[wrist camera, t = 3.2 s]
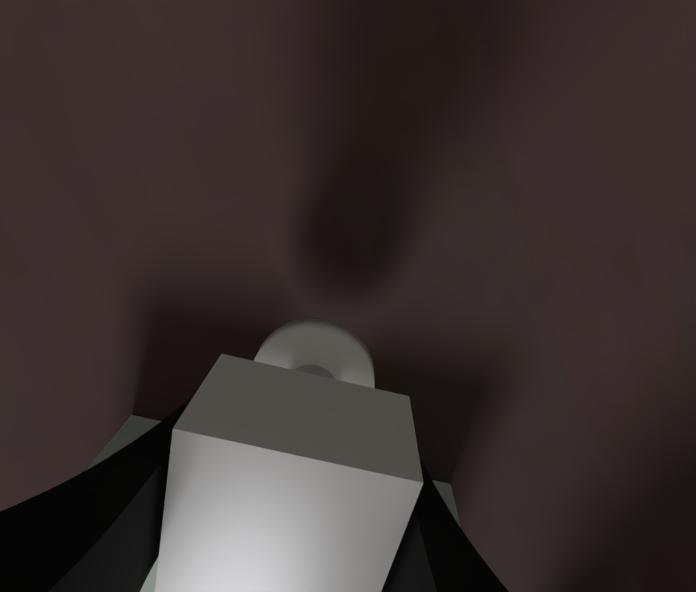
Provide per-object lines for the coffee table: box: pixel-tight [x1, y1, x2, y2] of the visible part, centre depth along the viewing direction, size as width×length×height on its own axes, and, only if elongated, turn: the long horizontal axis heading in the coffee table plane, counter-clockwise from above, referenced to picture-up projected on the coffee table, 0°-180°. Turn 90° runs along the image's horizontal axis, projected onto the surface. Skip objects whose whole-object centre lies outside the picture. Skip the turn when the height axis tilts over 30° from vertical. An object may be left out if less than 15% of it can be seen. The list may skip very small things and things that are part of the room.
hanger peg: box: [155, 318, 423, 592], centre depth 13 cm, size 5×5×7 cm
